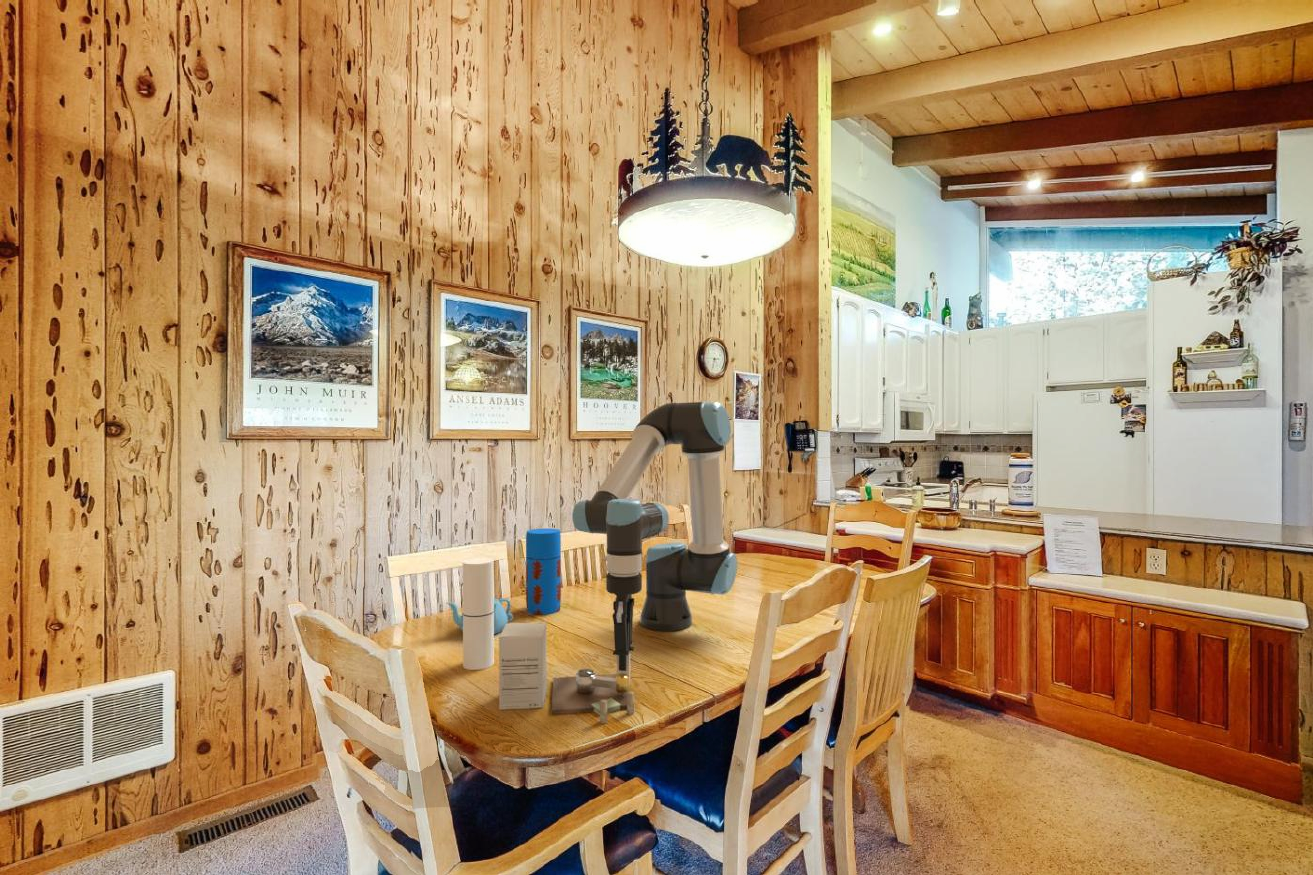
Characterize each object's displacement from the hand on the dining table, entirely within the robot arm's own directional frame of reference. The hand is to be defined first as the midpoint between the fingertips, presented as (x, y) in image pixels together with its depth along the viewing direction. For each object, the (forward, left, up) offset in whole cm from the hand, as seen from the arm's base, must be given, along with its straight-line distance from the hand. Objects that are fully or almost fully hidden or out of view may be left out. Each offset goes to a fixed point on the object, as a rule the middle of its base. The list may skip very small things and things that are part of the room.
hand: (623, 683), depth 127 cm
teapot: (+36, -48, -3) cm, 60 cm away
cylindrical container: (+33, -23, -3) cm, 40 cm away
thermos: (+19, -66, -3) cm, 68 cm away
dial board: (+7, +1, -3) cm, 7 cm away
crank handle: (+4, 0, -2) cm, 5 cm away
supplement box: (+21, -1, -3) cm, 21 cm away
